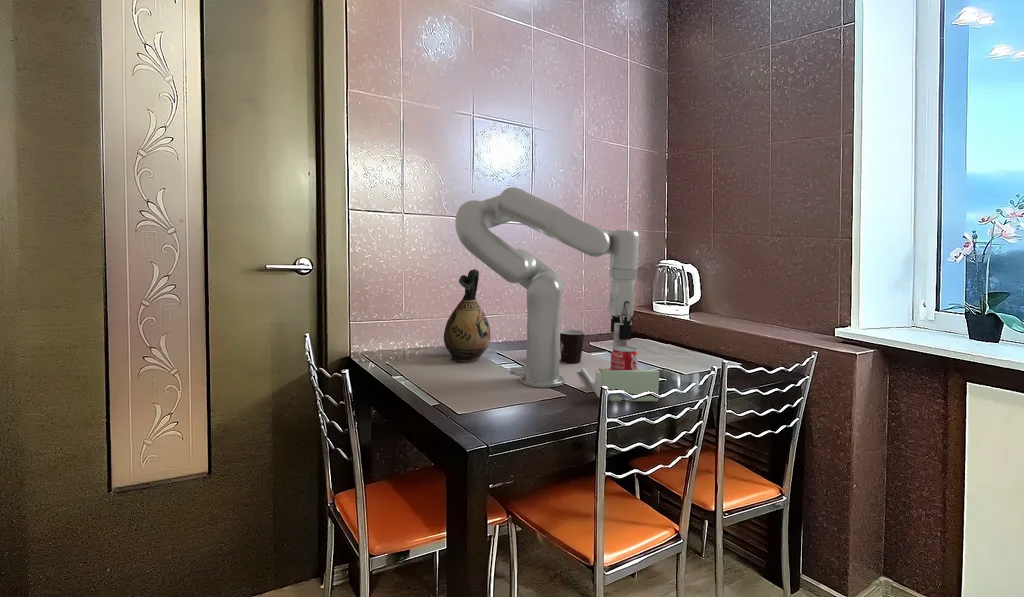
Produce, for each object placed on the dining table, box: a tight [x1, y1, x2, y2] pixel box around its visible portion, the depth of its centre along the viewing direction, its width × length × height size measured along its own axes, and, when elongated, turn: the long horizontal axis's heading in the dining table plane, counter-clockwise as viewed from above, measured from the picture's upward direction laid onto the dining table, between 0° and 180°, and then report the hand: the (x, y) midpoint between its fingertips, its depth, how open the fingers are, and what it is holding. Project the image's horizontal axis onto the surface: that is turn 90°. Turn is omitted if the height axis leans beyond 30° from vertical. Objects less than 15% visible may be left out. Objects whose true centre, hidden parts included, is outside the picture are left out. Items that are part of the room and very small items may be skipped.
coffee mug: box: [560, 329, 586, 365], centre depth 187 cm, size 12×9×10 cm
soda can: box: [610, 345, 639, 370], centre depth 152 cm, size 7×7×13 cm
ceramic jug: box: [443, 269, 492, 364], centre depth 188 cm, size 17×15×30 cm
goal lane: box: [580, 367, 660, 402], centre depth 162 cm, size 15×29×8 cm, turn 3°
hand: (620, 335), depth 159 cm, fingers open, 9 cm apart
